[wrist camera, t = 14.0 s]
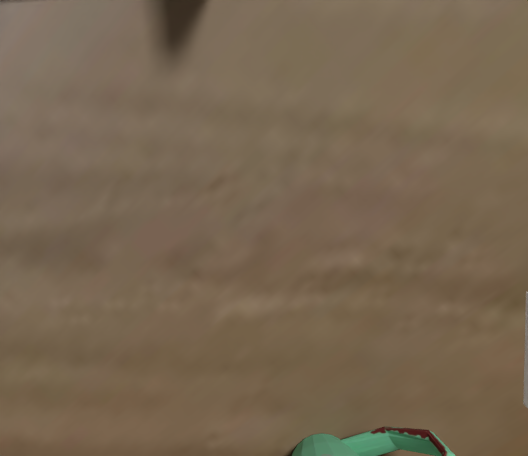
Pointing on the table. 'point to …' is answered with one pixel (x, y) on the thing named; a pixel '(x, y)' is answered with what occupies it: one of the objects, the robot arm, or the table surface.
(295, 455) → the mug
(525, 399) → the robot arm
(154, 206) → the table surface
